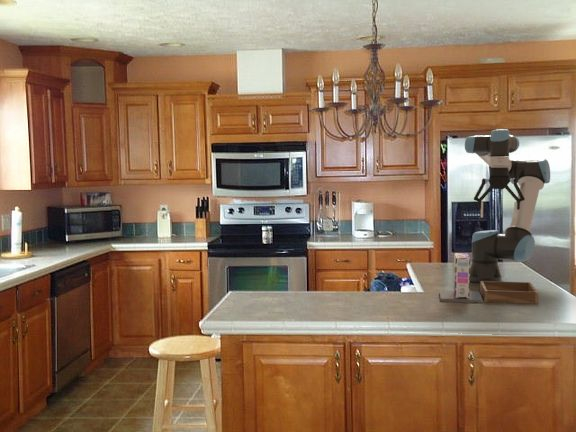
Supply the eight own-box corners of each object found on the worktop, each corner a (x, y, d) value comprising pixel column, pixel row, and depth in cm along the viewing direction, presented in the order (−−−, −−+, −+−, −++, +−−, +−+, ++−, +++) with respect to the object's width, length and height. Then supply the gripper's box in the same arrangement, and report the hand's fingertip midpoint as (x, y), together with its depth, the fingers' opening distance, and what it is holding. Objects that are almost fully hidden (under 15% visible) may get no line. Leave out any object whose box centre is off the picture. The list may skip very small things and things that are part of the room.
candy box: (469, 298, 258) (470, 257, 256) (454, 298, 259) (455, 257, 257) (467, 291, 271) (468, 252, 270) (453, 291, 272) (453, 252, 271)
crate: (480, 291, 277) (480, 281, 277) (529, 293, 273) (529, 282, 273) (484, 301, 258) (484, 290, 257) (537, 303, 253) (538, 292, 253)
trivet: (439, 293, 275) (439, 290, 275) (479, 294, 271) (479, 291, 271) (440, 301, 259) (440, 298, 259) (482, 302, 256) (482, 299, 256)
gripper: (469, 167, 271) (468, 217, 273) (532, 166, 266) (531, 218, 267) (467, 166, 278) (467, 216, 280) (529, 166, 273) (528, 216, 275)
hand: (498, 217), depth 274 cm, fingers open, 13 cm apart
